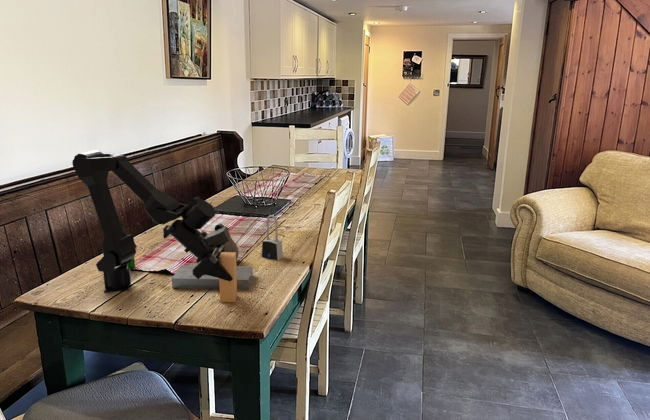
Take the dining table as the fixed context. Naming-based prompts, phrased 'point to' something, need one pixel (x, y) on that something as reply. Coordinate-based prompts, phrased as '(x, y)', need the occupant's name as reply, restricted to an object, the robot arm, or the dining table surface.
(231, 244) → the vase
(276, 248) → the padlock
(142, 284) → the dining table surface
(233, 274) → the peg
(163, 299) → the dining table surface
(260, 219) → the dining table surface
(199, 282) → the rail
